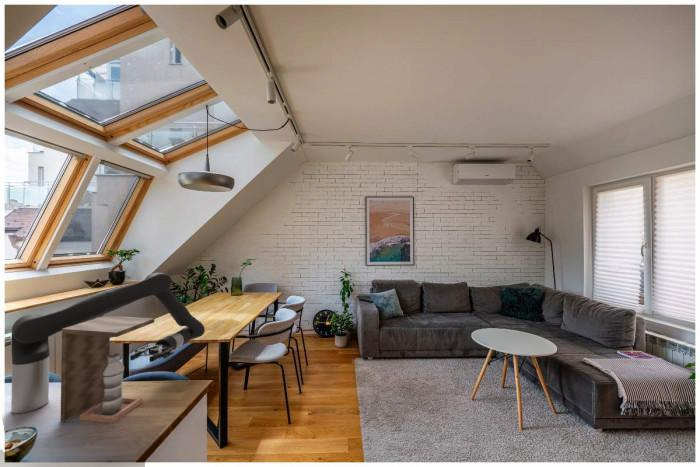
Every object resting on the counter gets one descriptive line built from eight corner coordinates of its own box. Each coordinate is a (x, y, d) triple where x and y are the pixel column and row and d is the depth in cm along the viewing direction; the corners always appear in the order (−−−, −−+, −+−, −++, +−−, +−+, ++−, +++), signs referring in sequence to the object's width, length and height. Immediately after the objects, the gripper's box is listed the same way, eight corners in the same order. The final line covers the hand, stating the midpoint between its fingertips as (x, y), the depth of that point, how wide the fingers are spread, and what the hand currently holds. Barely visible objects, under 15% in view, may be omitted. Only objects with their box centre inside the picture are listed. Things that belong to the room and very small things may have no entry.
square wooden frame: (113, 398, 112) (113, 395, 112) (142, 401, 111) (142, 397, 111) (79, 419, 100) (79, 415, 100) (112, 423, 99) (112, 418, 99)
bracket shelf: (105, 395, 115) (106, 315, 115) (152, 399, 112) (154, 318, 112) (60, 421, 99) (62, 328, 99) (114, 427, 97) (116, 332, 96)
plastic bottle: (96, 418, 101) (98, 360, 101) (104, 406, 107) (106, 352, 107) (119, 414, 103) (120, 358, 103) (125, 403, 110) (127, 350, 109)
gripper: (156, 334, 134) (124, 348, 118) (184, 336, 133) (157, 350, 117) (155, 350, 134) (124, 366, 118) (184, 353, 133) (156, 369, 117)
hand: (140, 358), depth 117 cm, fingers open, 8 cm apart
